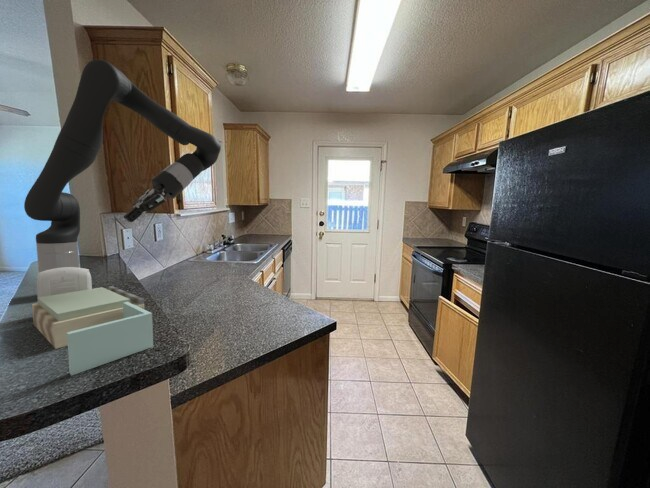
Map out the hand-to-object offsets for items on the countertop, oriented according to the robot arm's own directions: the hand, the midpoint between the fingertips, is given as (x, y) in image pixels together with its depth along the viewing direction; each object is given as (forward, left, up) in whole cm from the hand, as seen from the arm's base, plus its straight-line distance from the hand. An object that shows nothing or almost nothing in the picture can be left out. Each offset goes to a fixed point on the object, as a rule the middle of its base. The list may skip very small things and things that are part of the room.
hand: (127, 219), depth 71 cm
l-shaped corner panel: (+22, -12, -26) cm, 36 cm away
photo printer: (-9, -11, -25) cm, 29 cm away
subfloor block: (+5, -10, -25) cm, 27 cm away
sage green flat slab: (+5, -11, -20) cm, 23 cm away
